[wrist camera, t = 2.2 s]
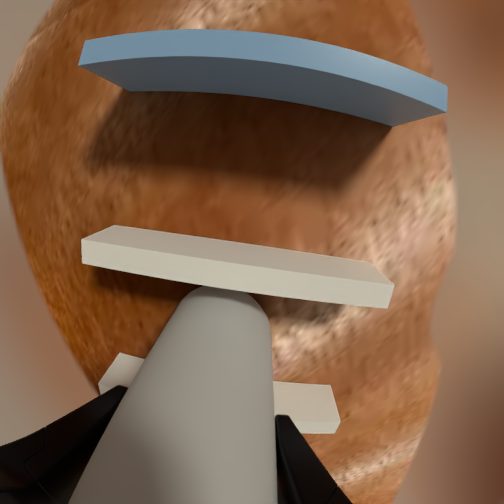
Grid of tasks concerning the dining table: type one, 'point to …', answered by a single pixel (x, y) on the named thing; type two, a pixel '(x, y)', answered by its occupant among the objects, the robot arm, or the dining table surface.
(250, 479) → the beverage can
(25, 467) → the robot arm
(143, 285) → the dining table surface
